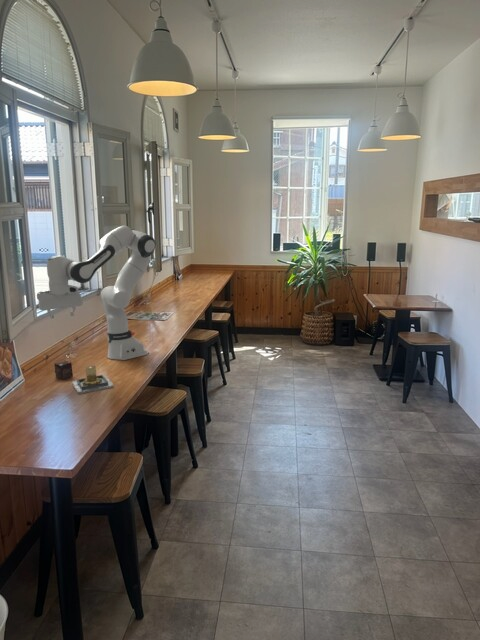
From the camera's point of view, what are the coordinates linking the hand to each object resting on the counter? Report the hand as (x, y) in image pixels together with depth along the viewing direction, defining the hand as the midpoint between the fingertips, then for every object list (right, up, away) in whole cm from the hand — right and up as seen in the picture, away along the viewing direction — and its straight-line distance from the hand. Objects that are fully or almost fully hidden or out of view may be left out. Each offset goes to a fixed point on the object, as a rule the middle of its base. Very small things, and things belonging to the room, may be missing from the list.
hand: (62, 316), depth 239 cm
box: (+1, -30, +1) cm, 30 cm away
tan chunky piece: (+19, -31, -13) cm, 38 cm away
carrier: (+19, -32, -12) cm, 39 cm away
